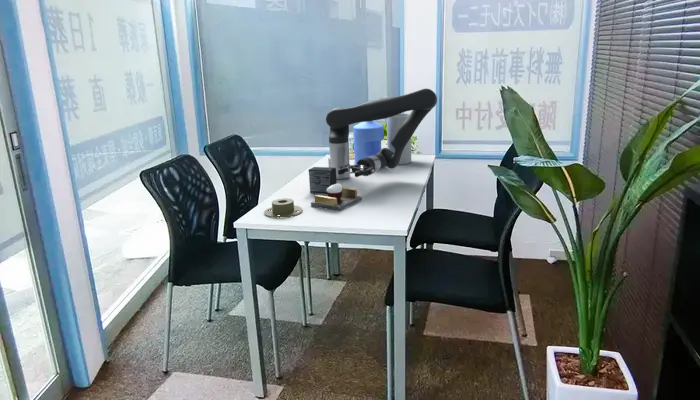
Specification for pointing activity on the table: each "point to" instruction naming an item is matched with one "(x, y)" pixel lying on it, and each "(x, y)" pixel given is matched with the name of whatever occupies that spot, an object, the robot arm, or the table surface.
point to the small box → (320, 179)
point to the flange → (283, 208)
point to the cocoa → (334, 187)
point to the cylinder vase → (392, 128)
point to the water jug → (367, 139)
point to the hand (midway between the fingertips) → (347, 173)
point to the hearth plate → (346, 200)
